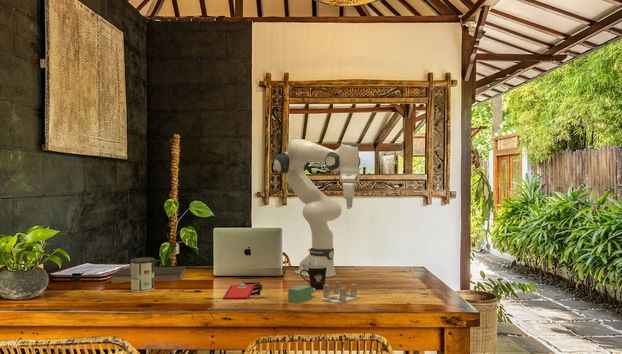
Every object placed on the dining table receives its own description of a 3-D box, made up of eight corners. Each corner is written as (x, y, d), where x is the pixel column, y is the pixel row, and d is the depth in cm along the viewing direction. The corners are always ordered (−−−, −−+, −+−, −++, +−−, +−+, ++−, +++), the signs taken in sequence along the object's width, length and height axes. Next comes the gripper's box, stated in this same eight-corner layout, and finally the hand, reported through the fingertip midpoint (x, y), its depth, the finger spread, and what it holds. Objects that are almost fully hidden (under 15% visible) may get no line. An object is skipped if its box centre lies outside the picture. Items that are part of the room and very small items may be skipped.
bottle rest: (320, 300, 200) (320, 286, 200) (339, 293, 211) (339, 280, 211) (340, 304, 193) (340, 289, 193) (359, 297, 204) (359, 283, 204)
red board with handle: (264, 283, 232) (233, 284, 231) (264, 277, 232) (233, 278, 231) (258, 300, 202) (222, 301, 201) (258, 293, 202) (222, 294, 201)
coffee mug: (329, 286, 224) (329, 265, 224) (323, 291, 216) (323, 268, 216) (305, 285, 228) (305, 264, 228) (299, 289, 220) (299, 267, 220)
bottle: (288, 301, 198) (288, 288, 198) (309, 295, 209) (309, 282, 209) (297, 303, 195) (297, 290, 195) (318, 297, 206) (318, 284, 206)
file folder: (110, 275, 232) (122, 267, 255) (110, 284, 232) (122, 274, 255) (180, 273, 236) (185, 265, 260) (180, 282, 236) (185, 273, 260)
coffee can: (142, 286, 225) (142, 256, 225) (159, 288, 221) (159, 258, 221) (125, 291, 216) (125, 259, 216) (142, 293, 211) (142, 261, 211)
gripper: (344, 178, 232) (344, 206, 232) (340, 178, 212) (340, 209, 211) (357, 178, 231) (357, 206, 231) (355, 178, 211) (355, 209, 211)
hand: (349, 208), depth 221 cm, fingers open, 8 cm apart
